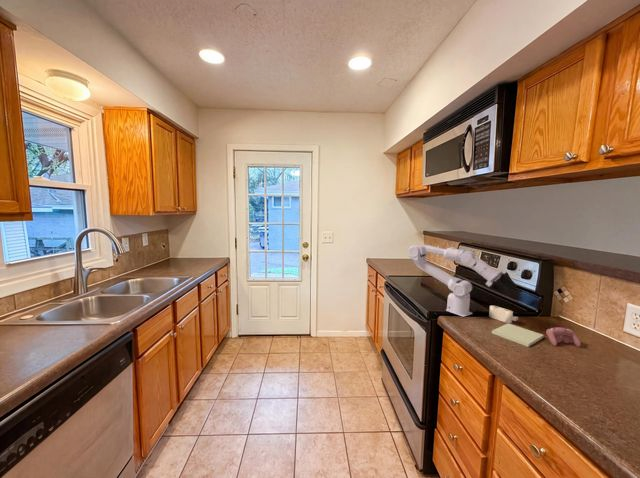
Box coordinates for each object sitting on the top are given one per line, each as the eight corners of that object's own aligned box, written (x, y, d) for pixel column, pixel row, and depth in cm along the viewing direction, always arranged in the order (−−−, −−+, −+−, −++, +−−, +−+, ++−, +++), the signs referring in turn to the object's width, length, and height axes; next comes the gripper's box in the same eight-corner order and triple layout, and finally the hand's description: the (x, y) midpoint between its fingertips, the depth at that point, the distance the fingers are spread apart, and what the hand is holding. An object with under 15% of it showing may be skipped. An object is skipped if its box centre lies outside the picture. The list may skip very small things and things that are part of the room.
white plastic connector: (487, 316, 133) (488, 306, 133) (491, 314, 135) (492, 305, 135) (514, 325, 124) (515, 314, 123) (518, 323, 125) (519, 313, 125)
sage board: (491, 333, 115) (491, 330, 115) (507, 325, 123) (508, 323, 123) (528, 346, 105) (528, 343, 104) (543, 337, 112) (543, 334, 112)
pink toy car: (573, 347, 108) (569, 328, 111) (583, 347, 104) (578, 327, 106) (546, 345, 109) (542, 326, 112) (554, 345, 105) (550, 326, 107)
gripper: (483, 269, 121) (512, 291, 114) (496, 259, 130) (524, 279, 123) (473, 279, 126) (501, 302, 119) (487, 269, 134) (514, 289, 127)
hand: (512, 291), depth 121 cm, fingers open, 7 cm apart
